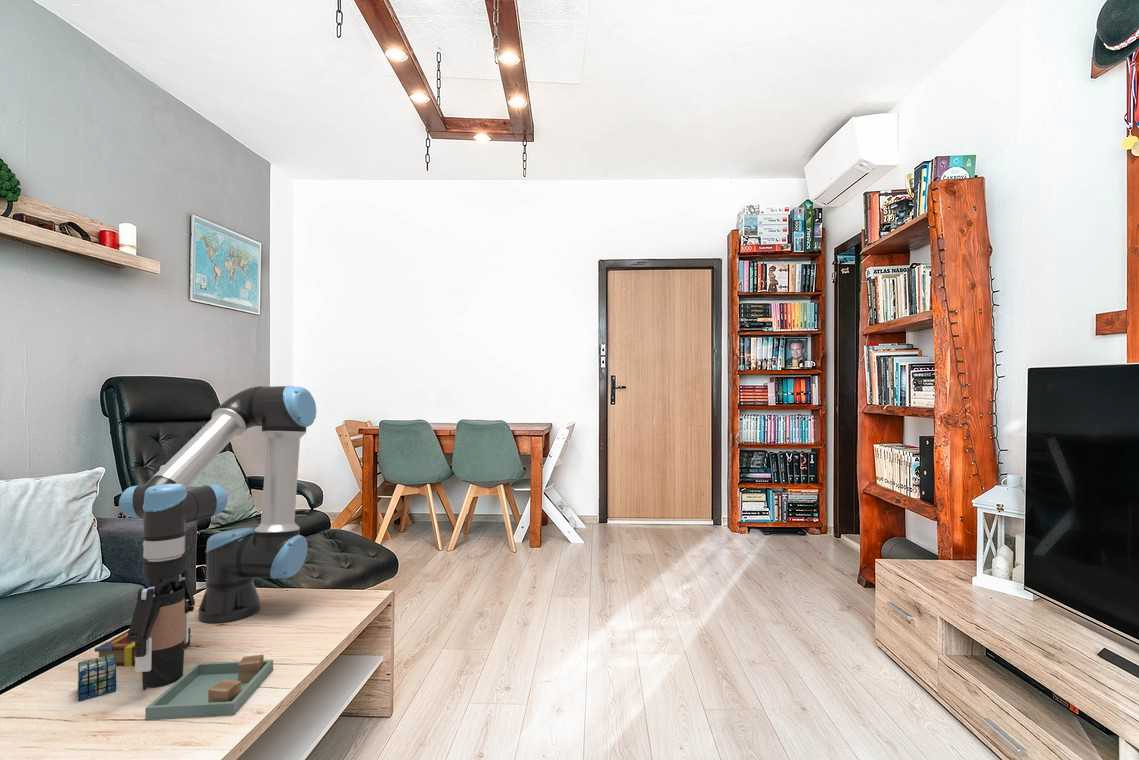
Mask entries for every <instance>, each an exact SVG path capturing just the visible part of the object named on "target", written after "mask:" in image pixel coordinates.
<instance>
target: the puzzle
mask: <svg viewBox="0 0 1139 760" xmlns="http://www.w3.org/2000/svg"><path fill="white" fill-rule="evenodd" d="M116 691H117V665H116V660H115V655H114V654H111V655H106V658H105V656H102V657H99V656H98V657H95V658H91V659H88V660H87V659H86V660H82V661H79V662H78V663H77V696H78V697H77V698H78V701H79V702H82V701H85V700H88V699H89V700H90V699H92V698H96V697H99V696H104V695H106V694H112V693H114V692H116Z"/></svg>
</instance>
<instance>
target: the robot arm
mask: <svg viewBox="0 0 1139 760" xmlns="http://www.w3.org/2000/svg"><path fill="white" fill-rule="evenodd" d="M316 417H317V404H316V402H315V398H314V397H313V394H312V393H311V391H309V389H307V388H305V387H302V386H294V385H293V386H292V385H291V386H290V385H286V386H283V385H282V386H280V385H279V386H277V385H276V386H275V385H274V386H261V385H259V386H252V387H249V388H246V389H244V390H241V391H240V392H238V393H235V394H234V395H232V396H231V397H229V398H228V399H226V400H225V401H224V402H223V403H221V404H220V405H219V406H218V407H217V408H215V410H214V411H213V412H212V413H211V419H210V420H209V421H208V422H207V423H206V424H205V425H204V426H203V427H202V428H201V429H200V430H199V431H198V432H196V434H195V435H194V436H193V437H191V438H190V439H189V440H188V441H187V442H186V444H185V445H183V447H182V448H180V449H179V451H177V452H176V453H175V454H174V455H173V456H172V457H171V458H170V459H169V460H168V461H167V462H166V463H165V464H164V465H163V466H162V467H161V468H160V469H159V470H158V471H157V472H156V473H155V474H153V476H152V477H151V478H150V479H149V480H147V482H145V483H144V485H142V484H138V485H133V486H130V487H127V488H126V489H124V491H123V492H121V495H120V497H119V500H118V507H119V510H120V512H121V513H122V515H123V516H125V517H128V518H134V519H140V520H143V535H142V536H143V537H142V538H143V542H142V546H143V554H142V556H143V557H142V558H143V559H144V560H143V561H142V578H143V579H145V580H148V585H147V588H139V589H138V592H137V599H136V600H137V601H136V605H135V606H134V608H135V609H134V611H133V615H132V619H131V623H130V626H129V629H128V630H129V632H128V636H127V641H135V665H134V672H136V673H139V672H140V673H141V672H145V671H150V670H151V659H152V638H149V635H150V633H151V630H152V628H153V625H154V623H155V620H156V618H157V615H158V613H159V610H160V607H161V606H162V605H163V599H162V600H160V601H157V602H153V597H155V596H159V595H166V594H170V592H171V590H173V592H174V591H178V590H180V586H179V585H183V586H184V588H185V643H187V642H188V628H189V615H190V613H189V612H191V613H193V612H194V609H195V607H194V606H195V604H196V601H195V598H194V593H193V591H192V587H191V584H190V580H189V573H188V569H187V570H186V556H185V555H184V553H186V524H189V523H193V522H198V521H200V520H205V519H211V518H213V517H215V516H217V515H219V514H221V513H223V511H224V510H225V509H226V507H227V505H228V501H229V500H228V494H227V491H226V490H225V489H224V488H223V487H222V486H220V485H218V484H204V485H201V486H191V484H192V483H193V482H194V480H195V479H196V478H197V477H198V476H200V474H201V473H202V472H203V471H204V470H205V469H206V468H207V467H208V466H209V465H210V463H212V462H213V460H214V459H215V458H216V457H217V456H218V455H219V454H220V453H221V452H222V451H223V450H224V449H225V448H226V446H227V445H229V443H230V442H231V441H232V440H233V439H234V438H235V437H238V436H241V435H242V434H244V433H245V432H246V430H248V429H250V428H255V427H261V434H263V435H264V436H265V437H266V447H265V448H266V449H265V461H264V463H265V464H264V475H263V489H262V503H261V514H260V515H261V517H260V518H261V519H260V523H259V524H258V525H257V527H256V528H253V527H242V528H241V527H240V528H235V529H234V528H233V529H229V530H224V531H221V532H217V533H215V534H213V535H210V536H209V537H208V539H207V540H206V541H207V542H206V549H205V581H206V582H205V590H204V594H203V596H202V599H201V603H200V605H199V607H198V614H197V615H198V617H197V618H198V620H199V621H200V622H203V623H210V624H211V623H212V624H217V623H226V622H232V621H237V620H241V619H244V618H247V617H250V616H252V615H254V614H255V613H257V612H259V610H260V609H261V599H260V596H259V593H258V591H257V587H256V586H255V583H254V578H263V579H273V580H277V579H289V578H291V577H293V576H295V575H296V574H297V573H298V572H299V571H300V570H301V567H303V565H304V563H305V560H306V558H307V554H308V545H309V544H308V541H307V539H306V537H305V536H303V535H300V531H301V530H300V528H301V527H300V526H299V525H298V524H297V523H296V522H295V519H296V518H295V517H296V505H297V503H296V502H297V489H298V473H299V460H300V459H299V457H300V445H301V439H302V437H304V435H306V434H307V427H310V426H312V425H313V423H314V422H315V419H316Z"/></svg>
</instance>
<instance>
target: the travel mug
mask: <svg viewBox="0 0 1139 760" xmlns="http://www.w3.org/2000/svg"><path fill="white" fill-rule="evenodd" d="M179 586H180V590H178V591H174V592H173V590H171V592H170V594H166V595H159V596H155V597H153V602H157V601H160V600H162V599H163V605H162V606H161V607H160V610H159V613H158V615H157V618H156V620H155V623H154V625H153V628H152V630H151V633H150V635H149V638H152V659H151V670H150V671H145V672H142V673H141V675H142V676H141V678H142V679H141V681H142V689H143V691H146V690H147V689H155V688H160V687H165V686H169V685H173V684H174V683H175V682H176V681H177V680H179V679H180V678H181V677H182V676H183V675H184V664H185V663H184V661H185V648H184V643H185V588H184V586H183V585H179Z"/></svg>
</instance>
